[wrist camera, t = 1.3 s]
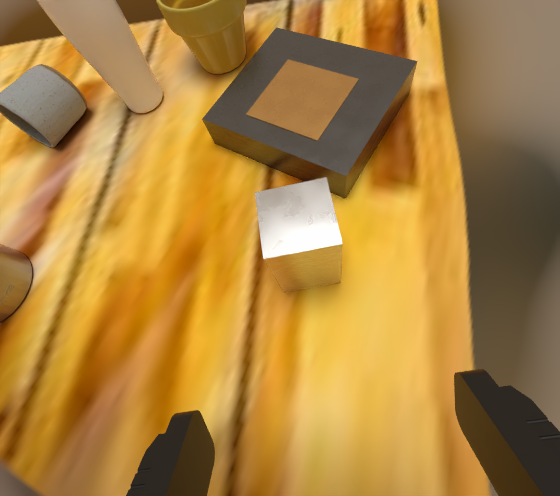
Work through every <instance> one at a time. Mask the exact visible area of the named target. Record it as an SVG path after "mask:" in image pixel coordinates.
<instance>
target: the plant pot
mask: <svg viewBox="0 0 560 496" xmlns="http://www.w3.org/2000/svg"><path fill="white" fill-rule="evenodd" d="M156 2H157V4H158V6H159V8H160V10H161V12H162V14H163V16H164V18H165V20H166V22H167V23H168V25H169V27H170V28H171V30H172V31H173V32H174V33H176V34H177V35H179V36H181V37H182V38H183V40H184V41H185V43H186V44H187V45H188V47H189V48H190V49H191V51H192V52H193V54H194V55H195V56H196V58H197V59H198V61H199V62H200V63H201V65H202V66H203V68H204V69H205V70H206V71H208V72H209V73H212V74H224V73H227V72H230V71H232V70H234V69H235V68H237V67H238V66H239V65H240V64H241V63H242V62H243V60H244V59H245V56H246V41H245V28H244V13H243V11H244V9H245V6H246V0H156Z"/></svg>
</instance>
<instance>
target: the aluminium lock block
mask: <svg viewBox="0 0 560 496" xmlns="http://www.w3.org/2000/svg"><path fill="white" fill-rule="evenodd" d="M255 197H256V205H257V213H258V221H259V229H260V237H261V244H262V252H263V259H264V261H265V262H266V264H267V266H268V267H269V269H270V270H271V272H272V274H273V275H274V277H275V278H276V280H277V282H278V283H279V285H280V286H281V288H282V289H283V291H284V293H286V292H291V291H297V290H302V289H308V288H313V287H319V286H324V285H330V284H335V283H341V271H342V245H343V243H342V239H341V235H340V231H339V227H338V223H337V219H336V215H335V210H334V206H333V202H332V198H331V194H330V190H329V186H328V181H327V177H325V178H320V179H316V180H311V181H306V182H302V183H297V184H293V185H288V186H283V187H279V188H274V189H270V190H265V191H260V192H256V193H255Z"/></svg>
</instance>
